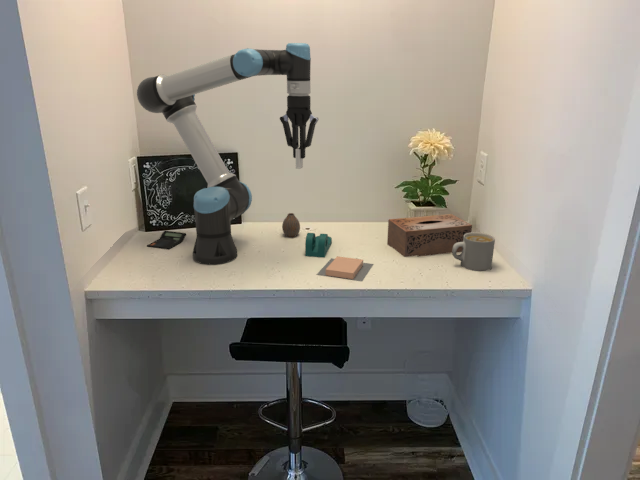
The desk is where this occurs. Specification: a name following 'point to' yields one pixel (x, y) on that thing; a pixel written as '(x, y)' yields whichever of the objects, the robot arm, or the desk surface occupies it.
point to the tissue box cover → (426, 234)
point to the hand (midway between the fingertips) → (299, 167)
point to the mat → (358, 277)
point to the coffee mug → (475, 251)
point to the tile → (344, 267)
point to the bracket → (317, 245)
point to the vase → (291, 225)
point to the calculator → (168, 240)
